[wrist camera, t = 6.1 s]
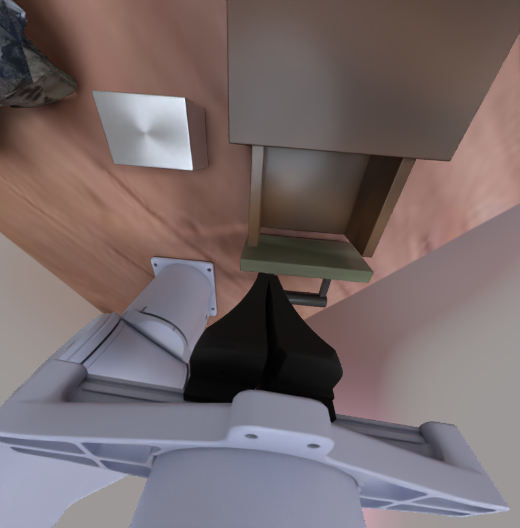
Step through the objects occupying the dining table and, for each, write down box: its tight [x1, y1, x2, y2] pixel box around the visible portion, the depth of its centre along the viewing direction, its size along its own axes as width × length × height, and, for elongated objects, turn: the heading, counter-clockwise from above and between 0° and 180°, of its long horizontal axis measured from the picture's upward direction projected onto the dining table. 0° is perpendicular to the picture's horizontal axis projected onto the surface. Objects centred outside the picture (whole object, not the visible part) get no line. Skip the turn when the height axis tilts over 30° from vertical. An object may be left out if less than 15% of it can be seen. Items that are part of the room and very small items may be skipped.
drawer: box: [240, 145, 416, 307], centre depth 16 cm, size 18×11×6 cm, turn 176°
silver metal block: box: [92, 90, 208, 171], centre depth 15 cm, size 6×4×4 cm
